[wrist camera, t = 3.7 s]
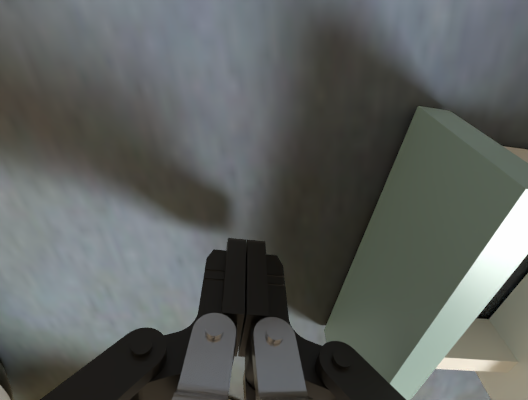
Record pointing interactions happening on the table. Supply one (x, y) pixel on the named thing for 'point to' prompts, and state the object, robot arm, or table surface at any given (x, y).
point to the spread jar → (5, 385)
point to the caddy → (442, 262)
